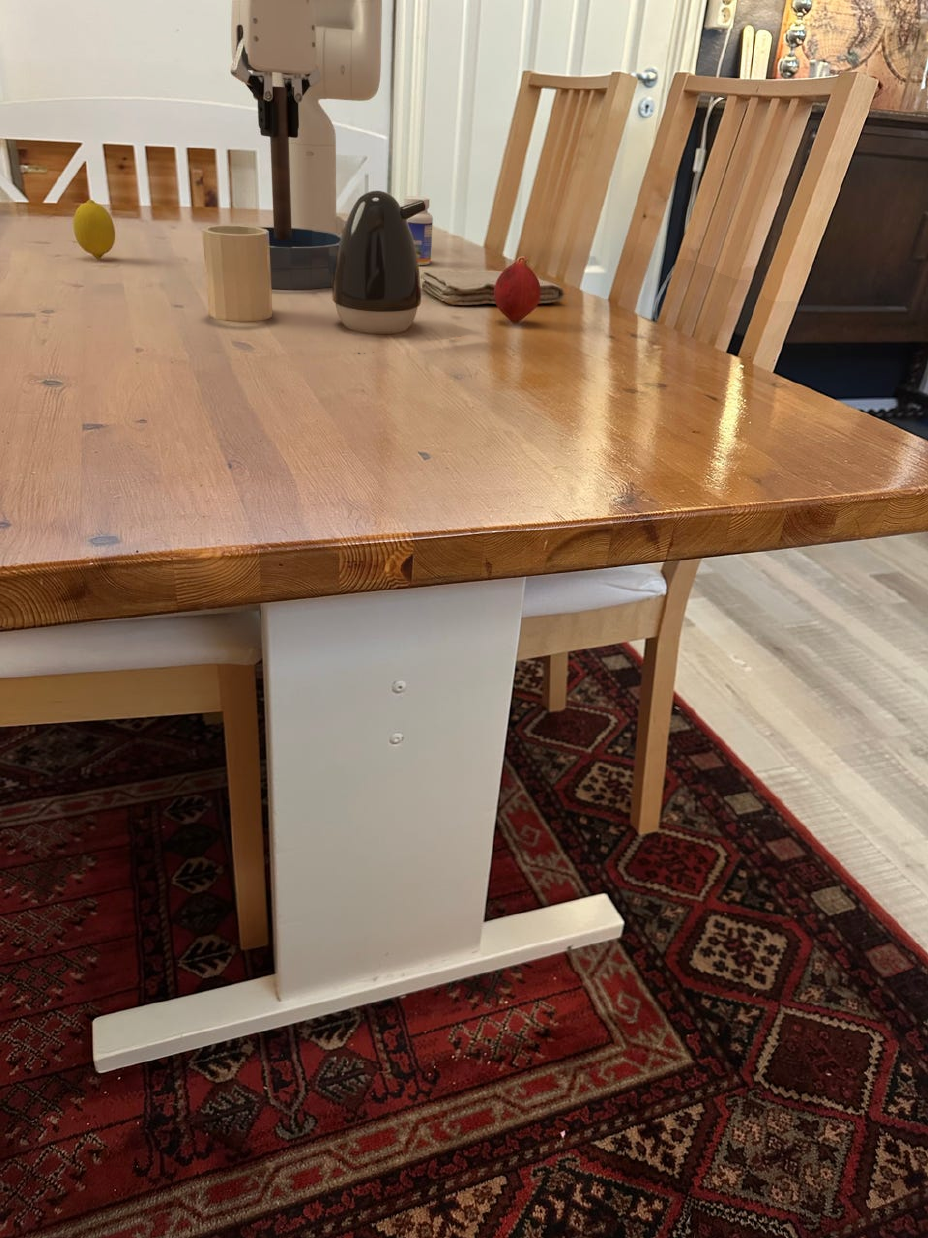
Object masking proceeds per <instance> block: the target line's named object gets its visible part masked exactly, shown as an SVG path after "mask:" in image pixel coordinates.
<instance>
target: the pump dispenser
mask: <svg viewBox="0 0 928 1238" xmlns="http://www.w3.org/2000/svg"><path fill="white" fill-rule="evenodd" d="M425 209H426V206H425V203H424V201H422V200H421V201H418V202H415V203H412V204H409V205H405V206H404V205H403V206H401V205H400V203H399V202H398V201H397V199H396V198H395V197H394V196H392V195H391V194H390V193H388V192H385V191H382V190H371V191H368V192H366V193H364V194H362V195H361V196H360V197H359V198H358V199H357V200H356V202H355V203H354V205H353V207H352V208H351V210H350V212H349V215H348V217H347V219H346V221H347V222H346V224H345V227H344V230H343V233H342V236H341V240H340V243H339V247H338V251H337V256H336V261H335V268H334V276H333V285H332V287H331V288H332V289H331V297H332V298H331V299H332V301H333V303H334V304H335V308H336V312H337V315H338V317H339V319H340V321H341V322H342V324H343V325H344V326H345V327H346V328H347V329H348V330H351V331H354V332H358V333H363V334H371V335H391V334H400V333H403V332H405V331H406V330H408V329H409V327H410V326H411V325H412V323H413V322H414V320H415V318H416V315H417V311H418V307H420V305H421V303H422V288H421V287H422V284H421V275H420V265H418V259H417V254H416V249H415V245H414V241H413V237H412V234H411V231H410V228H409V226H408V222H407V219H409V218H410V217H412V216H414V215H416V214H418V213H420V212H422V211H424V210H425Z"/></svg>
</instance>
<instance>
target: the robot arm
mask: <svg viewBox="0 0 928 1238" xmlns="http://www.w3.org/2000/svg"><path fill="white" fill-rule="evenodd" d="M230 15H231V19H230V20H231V22H230V23H231V24H230V40H231V41H230V42H231V48H230V49H231V58H232V59H231V60H232V64H231V67H230V74H231V76H233V77H234V78H235V79H237V80H238V81H240V82H241V83H244V84H245V86H246V87H247V88H248V90H249V91H250V92H251V93H252V97H253V98H254V100H255V101H257V119H258V120H257V121H258V128H259V133H260V136H262V137H269V138H270V137H277V136H278V124H277V104H276V102H273V101H272V97H273V86H277V87H287V95H288V128H289V161H290V194H291V227H292V228H302V229H312V230H319V231H325V232H330V233H334V234H338V235H341V236H342V233H343V230H344V227H345V224H346V222H347V220H344V219H343V217H341V216H338V215H337V136H336V130H335V126H334V124H333V121H332V119H331V118H330V117H329V115H328V114H327V112H325V110H324V109H323V107H322V106H321V104H320V102H319V101H320V100H340V101H341V100H342V101H352V102H353V101H356V102H366V101H370V100H371V99H373V98H375V96H376V95H377V93H378V90H379V88H380V81H381V67H382V66H381V65H382V33H383V32H382V29H383V28H382V25H383V23H382V22H383V21H382V20H383V0H231V14H230ZM251 71H252V73H251Z"/></svg>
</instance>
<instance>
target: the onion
mask: <svg viewBox="0 0 928 1238" xmlns="http://www.w3.org/2000/svg"><path fill="white" fill-rule="evenodd" d="M527 262H528V259H527V258H526V256H524V255H523V256H519V257H518V258H517V259H516V260H515V261H514V262H513V263H511V265H508V266H507V267H506V268H505V269H504V270H502V271H503V272H502V273H501V274H500V276H499V277H498V279H497V281H496V284H495V289H494V298H495V302H496V304H495V305H496V308H498V310H499V311H500V313H501V314H502V315H503V316H504V317H506V318H507V319H508V320H509V321H510V322H511V323H514V324H517V323H520V322H521V321H522V320H523V319H525V318H526V317H527V316H528V315H530V314H531V313H532V312H533V311H534V310H535V309H536V308H537V307H538V305H539V304H538V303H539V301H540V296H541V287H540V284H539V281H538V279H537V278H538V277H537V275H536V274H535V272H534V271H533V270H532V269H531V268H530V267H529V266H528V265H527Z"/></svg>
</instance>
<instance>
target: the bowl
mask: <svg viewBox="0 0 928 1238" xmlns="http://www.w3.org/2000/svg"><path fill="white" fill-rule="evenodd" d="M258 227H259V228H263V229H266V230H268V231H269V246H270V269H271V290H292V291H293V290H317V289H326V288H327V289H328V288H332V285H333V276H334V268H335V261H336V256H337V251H338V247H339V243H340V240H341V235H338V234H334V233H330V232H325V231H319V230H312V229H302V228H292V239H276V238H274V226H258Z"/></svg>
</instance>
